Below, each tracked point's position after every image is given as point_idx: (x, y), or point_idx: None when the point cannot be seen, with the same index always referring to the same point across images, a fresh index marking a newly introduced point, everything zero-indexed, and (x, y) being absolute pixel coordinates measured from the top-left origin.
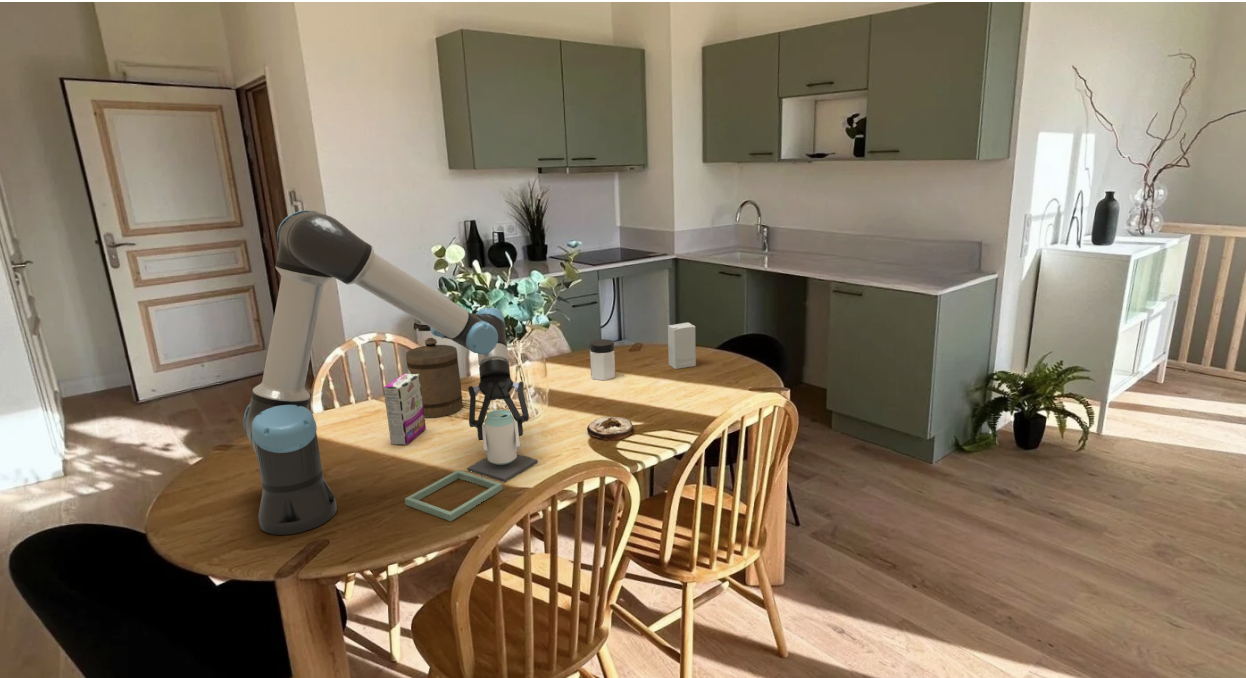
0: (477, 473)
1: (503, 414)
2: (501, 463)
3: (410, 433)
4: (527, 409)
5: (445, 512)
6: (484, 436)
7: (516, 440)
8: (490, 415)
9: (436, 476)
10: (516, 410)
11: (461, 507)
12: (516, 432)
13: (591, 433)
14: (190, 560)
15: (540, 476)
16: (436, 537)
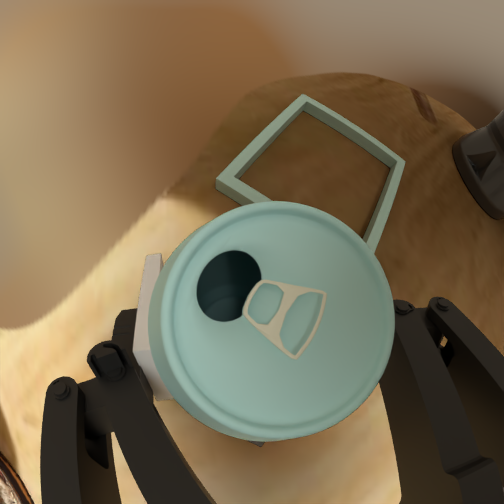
0: None
1: (244, 331)
2: (232, 281)
3: None
4: (42, 432)
5: (314, 101)
6: None
7: (157, 268)
8: (363, 311)
9: (400, 282)
10: (126, 436)
11: (291, 107)
12: (150, 294)
13: (8, 471)
14: None
15: (111, 253)
16: (304, 79)
